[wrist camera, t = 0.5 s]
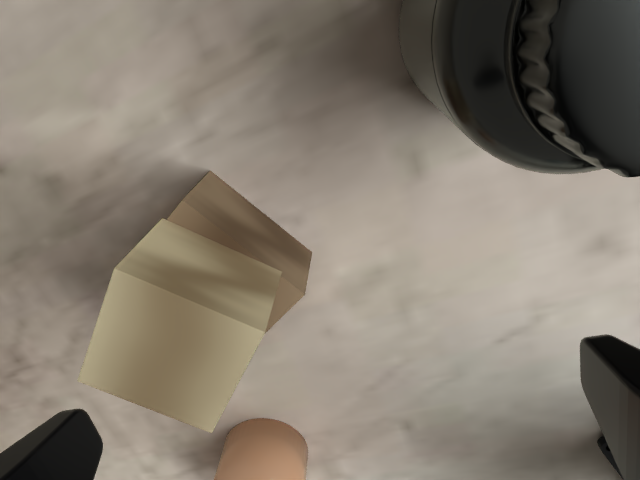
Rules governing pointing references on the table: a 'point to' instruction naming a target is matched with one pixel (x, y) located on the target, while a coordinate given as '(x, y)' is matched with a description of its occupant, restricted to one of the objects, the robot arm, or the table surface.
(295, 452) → the peach cylinder
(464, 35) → the supplement bottle
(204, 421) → the oak block
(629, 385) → the robot arm
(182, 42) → the table surface
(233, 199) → the walnut block
